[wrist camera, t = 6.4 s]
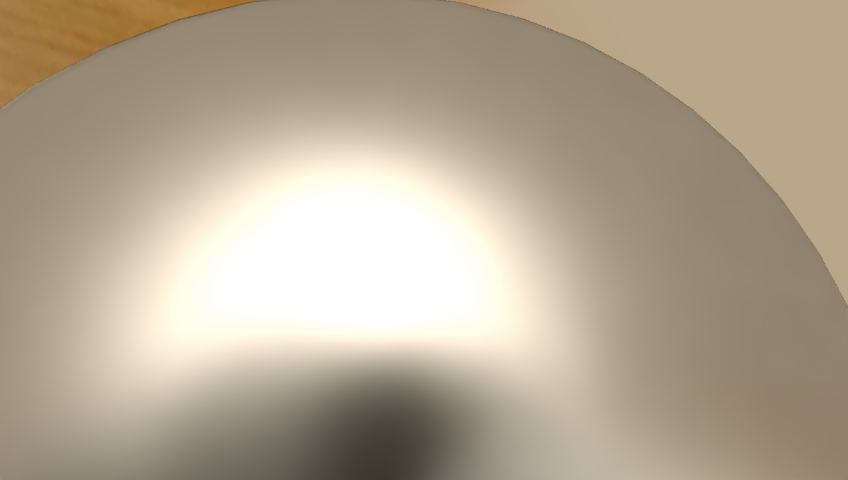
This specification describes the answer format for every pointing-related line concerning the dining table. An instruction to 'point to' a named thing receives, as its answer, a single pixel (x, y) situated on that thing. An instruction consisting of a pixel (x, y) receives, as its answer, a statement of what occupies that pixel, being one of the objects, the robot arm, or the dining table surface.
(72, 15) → the dining table surface
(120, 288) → the can
